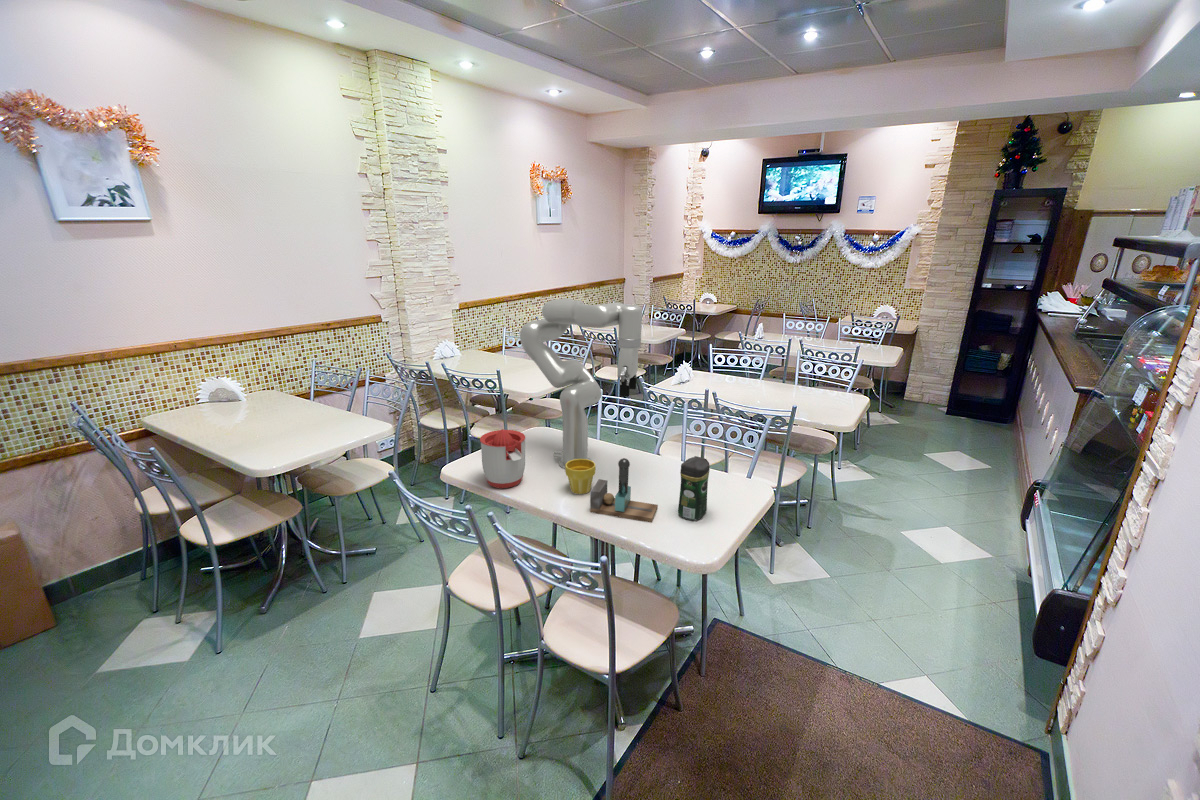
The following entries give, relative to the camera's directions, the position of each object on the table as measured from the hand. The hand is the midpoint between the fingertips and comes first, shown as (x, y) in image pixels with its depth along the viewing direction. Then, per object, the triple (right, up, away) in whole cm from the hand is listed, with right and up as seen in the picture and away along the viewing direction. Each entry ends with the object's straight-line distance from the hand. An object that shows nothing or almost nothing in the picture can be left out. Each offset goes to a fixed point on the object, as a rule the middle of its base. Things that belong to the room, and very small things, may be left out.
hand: (628, 392), depth 176 cm
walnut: (-7, -36, -10) cm, 38 cm away
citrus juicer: (-43, -32, +7) cm, 54 cm away
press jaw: (-2, -36, -11) cm, 38 cm away
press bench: (-2, -38, -11) cm, 40 cm away
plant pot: (-16, -34, +2) cm, 38 cm away
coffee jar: (+20, -39, -12) cm, 45 cm away
